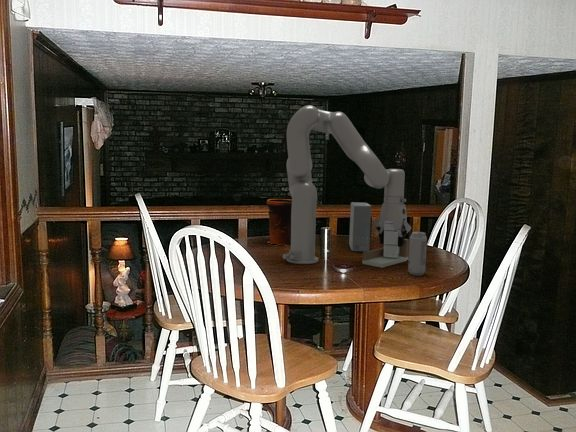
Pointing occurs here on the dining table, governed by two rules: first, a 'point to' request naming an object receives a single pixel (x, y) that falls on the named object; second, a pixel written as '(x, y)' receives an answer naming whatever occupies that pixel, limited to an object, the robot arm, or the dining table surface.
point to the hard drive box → (360, 226)
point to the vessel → (280, 221)
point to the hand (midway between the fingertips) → (391, 244)
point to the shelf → (379, 260)
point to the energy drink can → (417, 253)
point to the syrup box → (390, 240)
